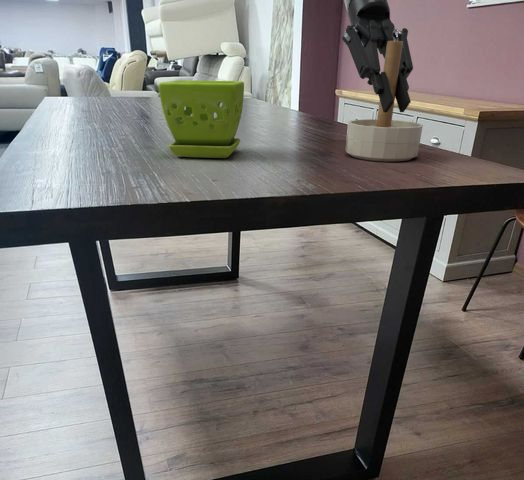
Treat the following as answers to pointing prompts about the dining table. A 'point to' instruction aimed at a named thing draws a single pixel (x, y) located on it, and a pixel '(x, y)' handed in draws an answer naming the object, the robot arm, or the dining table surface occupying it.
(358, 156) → the bowl
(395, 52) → the muddler
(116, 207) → the dining table surface
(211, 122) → the flower pot
